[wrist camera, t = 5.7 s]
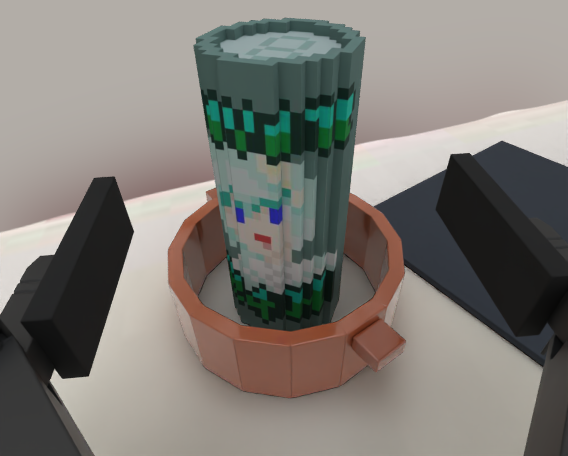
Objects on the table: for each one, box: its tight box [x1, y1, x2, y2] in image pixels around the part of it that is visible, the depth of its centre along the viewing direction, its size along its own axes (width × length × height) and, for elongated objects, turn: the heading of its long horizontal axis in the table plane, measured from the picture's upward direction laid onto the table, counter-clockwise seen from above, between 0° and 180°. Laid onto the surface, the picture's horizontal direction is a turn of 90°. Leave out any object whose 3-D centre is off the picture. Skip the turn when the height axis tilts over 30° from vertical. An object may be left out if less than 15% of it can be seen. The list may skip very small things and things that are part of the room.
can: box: [194, 18, 366, 331], centre depth 20 cm, size 6×6×15 cm
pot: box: [168, 188, 406, 398], centre depth 23 cm, size 13×16×4 cm
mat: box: [374, 141, 568, 367], centre depth 29 cm, size 20×16×1 cm
